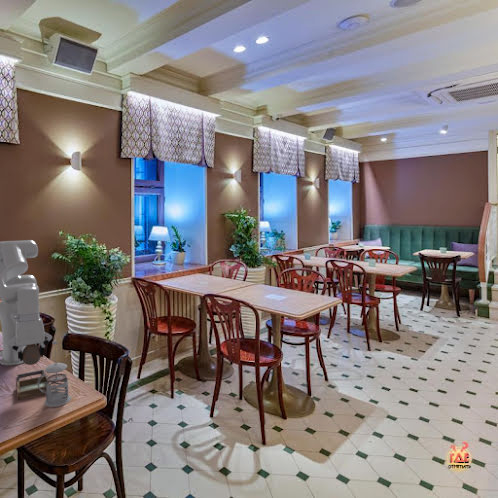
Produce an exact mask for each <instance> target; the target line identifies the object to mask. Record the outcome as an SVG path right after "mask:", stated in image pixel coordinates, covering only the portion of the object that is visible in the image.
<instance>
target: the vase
mask: <svg viewBox="0 0 498 498" xmlns="http://www.w3.org/2000/svg"><path fill="white" fill-rule="evenodd" d="M41 358H42V357H41V351H40V347H39V346H38V344H33V345H27V346H26V347H25V348H24V350H23V352H22V360H23V362H24V363H23V364H25V365H28V366H33V365H35V364H37V363H38V362H39V361H40V360H41Z"/></svg>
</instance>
